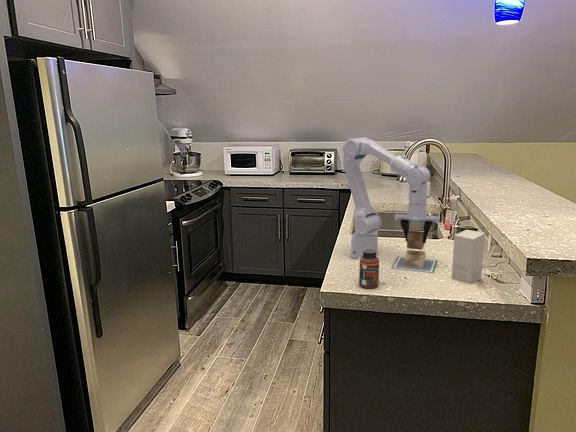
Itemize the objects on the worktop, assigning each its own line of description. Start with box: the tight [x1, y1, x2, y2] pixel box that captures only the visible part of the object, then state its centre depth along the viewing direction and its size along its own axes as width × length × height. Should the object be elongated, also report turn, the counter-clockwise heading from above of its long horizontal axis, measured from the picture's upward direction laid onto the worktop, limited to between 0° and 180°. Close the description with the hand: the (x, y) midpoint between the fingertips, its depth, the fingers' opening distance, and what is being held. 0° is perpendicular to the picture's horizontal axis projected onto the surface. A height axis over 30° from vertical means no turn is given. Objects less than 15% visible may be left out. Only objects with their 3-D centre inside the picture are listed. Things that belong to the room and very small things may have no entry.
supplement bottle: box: [358, 249, 380, 289], centre depth 138 cm, size 6×6×11 cm
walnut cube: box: [406, 229, 425, 251], centre depth 153 cm, size 5×5×5 cm
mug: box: [427, 181, 431, 198], centre depth 280 cm, size 12×10×9 cm
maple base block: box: [404, 249, 426, 268], centre depth 154 cm, size 6×6×4 cm
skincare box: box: [451, 229, 486, 284], centre depth 140 cm, size 8×7×16 cm
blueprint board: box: [390, 255, 439, 274], centre depth 155 cm, size 14×14×1 cm
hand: (415, 242), depth 153 cm, fingers closed on walnut cube, 5 cm apart
